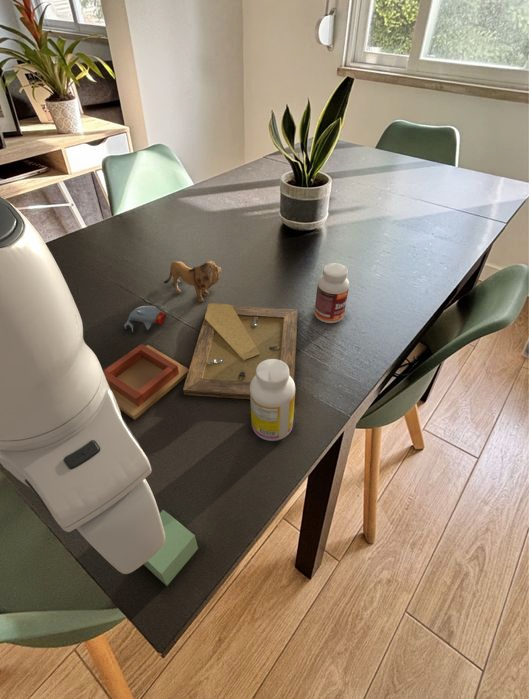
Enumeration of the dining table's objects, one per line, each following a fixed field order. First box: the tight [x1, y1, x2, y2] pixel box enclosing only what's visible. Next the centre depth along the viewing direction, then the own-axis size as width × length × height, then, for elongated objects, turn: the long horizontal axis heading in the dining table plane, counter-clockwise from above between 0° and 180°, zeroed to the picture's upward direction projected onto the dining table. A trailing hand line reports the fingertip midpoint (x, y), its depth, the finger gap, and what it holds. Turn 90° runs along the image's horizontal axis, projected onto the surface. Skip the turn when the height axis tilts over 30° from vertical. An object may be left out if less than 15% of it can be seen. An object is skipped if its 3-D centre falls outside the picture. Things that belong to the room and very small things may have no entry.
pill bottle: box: [314, 262, 350, 324], centre depth 85 cm, size 6×6×11 cm
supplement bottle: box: [249, 359, 296, 442], centre depth 64 cm, size 7×7×13 cm
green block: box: [142, 509, 199, 587], centre depth 53 cm, size 6×6×4 cm
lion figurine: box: [163, 260, 222, 303], centre depth 91 cm, size 15×5×9 cm, turn 67°
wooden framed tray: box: [103, 343, 189, 420], centre depth 74 cm, size 13×11×3 cm
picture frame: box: [182, 302, 298, 400], centre depth 80 cm, size 19×2×24 cm
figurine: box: [123, 305, 167, 333], centre depth 85 cm, size 5×8×4 cm
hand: (103, 502), depth 41 cm, fingers open, 8 cm apart
